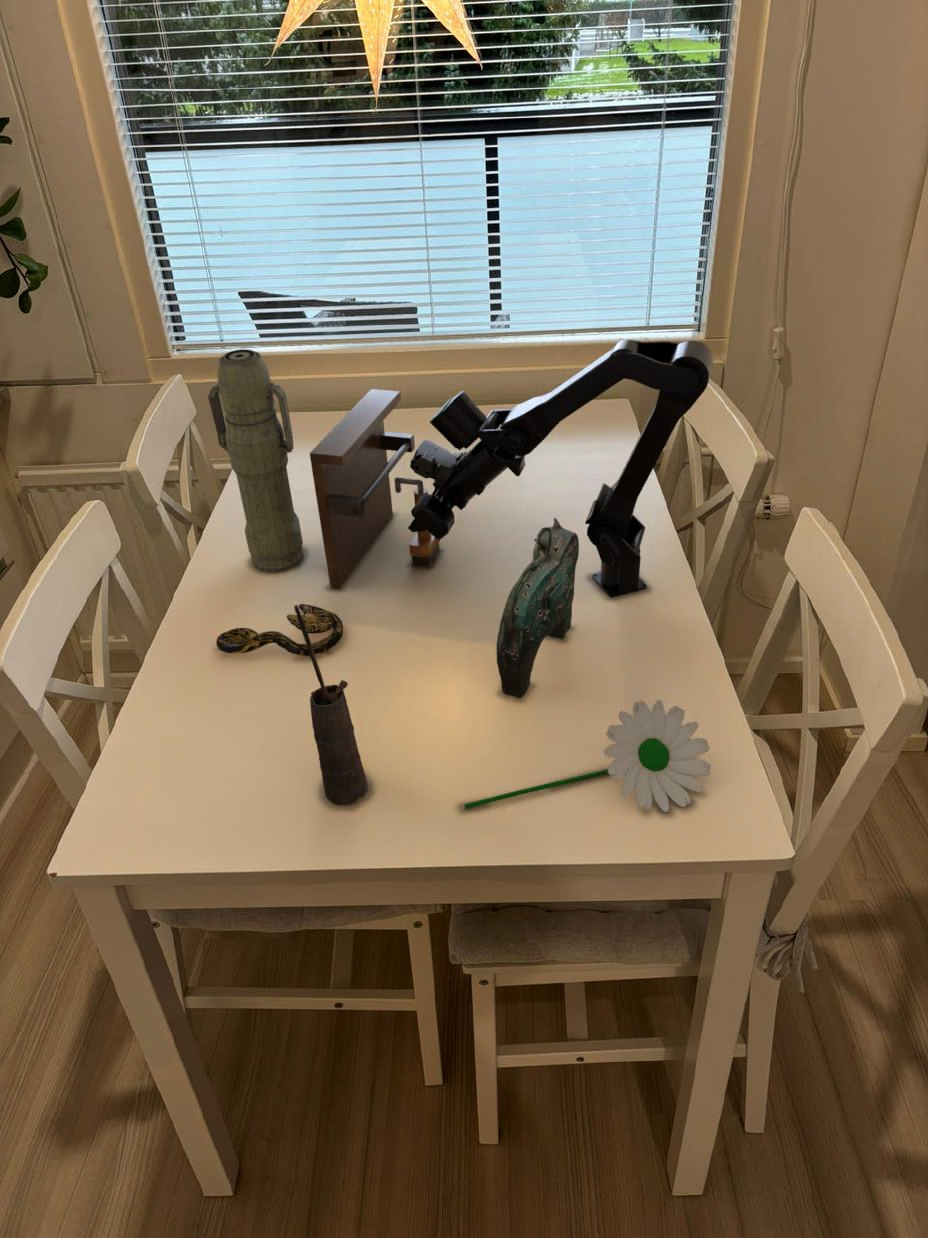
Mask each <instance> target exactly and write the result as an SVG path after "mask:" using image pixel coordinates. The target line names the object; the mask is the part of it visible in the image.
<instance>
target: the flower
mask: <svg viewBox="0 0 928 1238" xmlns="http://www.w3.org/2000/svg"><path fill="white" fill-rule="evenodd" d="M632 704H633V705H632V714H633V715H632V714H631V713H629V712H626V711H622V710H620V711H618V718H619V722H620V723H621V724H622V725H621V724H611V725H608V728H607V729H608V730H607V731H606V737H607V738H608V739H609V740H610V741H611V742H614V743H612V744H610V745H608V746H607V747H605V748H604V750H603V755H604V756H605V757H608V758H611V759H612V758H615V759H613V760H612V762H611V763H609V766H608V768H606V769H603V770H599V771H595V772H590V773H587V774H582V775H578V776H573V777H570V778H565V779H561V780H556V781H552V782H548V783H547V782H546V783H543V784H539V785H535V786H530V787H528V788H523V789H519V790H514V791H510V792H507V793H502V794H498V795H495V796H491V797H487V798H483V799H480V800H476V801H471V802H468V803H464V804H463V806H464V809H465V810H468V809H472V808H475V807H478V806H482V805H486V804H490V803H493V802H498V801H501V800H505V799H509V798H513V797H514V798H515V797H517V796H522V795H525V794H530V793H535V792H539V791H542V790H546V789H551V788H556V787H559V786H564V785H568V784H571V783H577V782H580V781H584V780H589V779H593V778H597V777H601V776H605V775H609V778H610V780H611V781H612V782H614V781H619V780H620V779H622V778H623V779H622V783H621V789H620V791H621V795H622V796H623V797H625V798H626V797H627V798H628V797H629V796H630V795H631V794H632V792H633V791H634V790H635V792H634V793H635V800H636V803H637V806H638V807H639V808H643V809H644V810H648V811H649V810H650V809H651V807H652V804H653V799H654V801H655V802H656V804H657V806H658V807H659V809H660V810H661V811H662V812H663V813H667V812H669V811H670V802H669V799H670V800H671V801H672V802H674V803H675V804H676V805H677V806H678V807H680V808H682V809H684V808H686V807H687V806H689V805H691V803H692V801H691V797H690V794H689V793H688V792H687V791H686V789H688V790H691V791H693V792H696V793H703V791H704V787H703V785H702V783H700V781H699V780H697V778H695V777H693V776H697V777H708V776H709V775H710V774H711V768H712V765H711V763H710V762H707V761H706V760H705V759H702V758H697V757H698V756H700V755H703V754H706V753H707V752H708V751H709V750H710V745H709V743H708V740H707V739H706V738H703V737H693V736H694V734H695V733H696V732H697V730H698V728H699V723H698V722H697V721H691V722H687V723H685V724H683V723H684V718H685V710H684V709H683V708H680V707H679V706H678V705H674V706H673V707H671V708H670V709H668V711H667V713H666V711H665V708H664V704H663V701H662V700H660V699H658V700H656V701H655V703H654V705H652V709H650V707H649V706H648V705H647V704H646V702H645V701H643V700H639V701H638V702H637V701H636V702H634V703H632ZM692 737H693V738H692ZM684 788H685V789H684ZM668 797H669V798H668Z"/></svg>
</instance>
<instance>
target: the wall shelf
mask: <svg viewBox="0 0 928 1238" xmlns="http://www.w3.org/2000/svg"><path fill="white" fill-rule="evenodd" d="M401 401H402V395H401V391H400V390H389V389H378V388H377V389H375V388H371V389H370V390H369V391H368V392H367V393H366V394H365V395H363V397H362V398H361V399H360V400H359V401H358V402H357V403H356V404H355V405H354V406H353V407H352V409H351V410H350V411H349V412H348V413H347V414H346V415H345V416H343V418H341V420H340V421H339V422H338V423H337V424H336V425H335V426H334V427H333V428H332V429H331V430H330V431H329V432H328V433H327V435H325V436H324V437H323V439H321V440H320V442H319V443H318V444H316V446H315V447H314V448H313V449H312V450H311V451H310V452H309V458H310V465H311V472H312V479H313V484H314V491H315V498H316V504H317V510H318V516H319V517H318V518H319V523H320V530H321V537H322V541H323V548H324V555H325V561H326V569H327V575H328V581H329V587H330V589H333V590H340V589H341V588H342V587H343V585H344V584H345V583H346V581H347V580H348V579H349V577H350V576H351V574H352V573H353V571H354V570H355V569H356V567H357V566H358V565H359V563H360V562H361V560H362V559H363V558H364V557H365V555H366V553H367V552H368V551H369V549H370V548H371V547H372V545H373V544H374V542H375V541H376V539H377V538H378V537H379V535H380V534H381V533H382V531H384V529H385V527H386V526H387V525H388V523H389V522H390V520H391V519H392V518H393V517H394V511H393V510H394V509H393V501H392V491H391V483H390V482H391V481H390V473H391V472H392V470H394V468H395V467H396V465H397V464H398V463H399V462H400V460H401V459H402V457H403V456H404V455H405V454H406V453H413V451H414V450H416V446H415V434H414V433H403V432H394V431H391V432H390V431H385V423H384V421H385V420H386V419H387V417H388V416H389V415H390V414H391V413H392V412H393V410H394V409H395V408H396V407H397V406H398V405H399V403H400V402H401ZM387 451H392V452H395V453H394V454H393V455H392V457H391V458H390V459H389V460H388V454H387Z"/></svg>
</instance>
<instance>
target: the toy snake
mask: <svg viewBox="0 0 928 1238" xmlns="http://www.w3.org/2000/svg"><path fill="white" fill-rule="evenodd" d="M298 608H299V610H300V612H301V615H302V618H303V620H304V622H305V625H306V628H307V631H308V634H311V635H314V634H323V633H326V632H328V631H330V630H331V629H332V633H330V634H329V635H328V636H326V637H323V638H322V639H320V640H318V641H315V642H311V644H312V648H313V651H314V654H315V656H316V655H319V654H323V653H327V652H328V651H330V650H331V649H332V648H333V647H335V646H337V644H338V643H339V642H340V641H341V639H343V636H344V624H343V621H342V619H341V618H340V617H339V616H338V615H337V614H336V613H335V612H332V611H329V610H327V609H324V608H322V607H319V606H316V605H311V604H307V603H300V604H299V605H298ZM286 619H287V621H288V622H289V623H290V625H292V626H294V627H295V629H297V630H299V631H301V632H302V630H301V628H300V625H299V622H298V619H297V614H291V613H289V614H286ZM215 644H216V646H217V648H218V650H219V651H221V652H223V653H226V654H232V655H236V654H237V655H238V654H246V653H250V652H254V651H256V650H258V649H259V648H262V647H264V646H266V645H270V644H276V646H278V647H280V648H282V649H284V651H286V652H287V653H290V654H292V655H296V656H301V657H302V656H303V657H310V654H309V651H308V648H307V645H306V643H299V642H296V641H295V640H293V639H292V638H290V637H289V636H287V635H286V634H283V633H282V632H280V631H276V630H268V631H264V632H263V631H262V632H261V633H258V632H257V631H256V630H254V629H251V628H249V627H236V628H231V629H230V630H229V629H228V630H226V631H224V632H222V633H220V634H219V635H218V636H217V638H216V643H215Z"/></svg>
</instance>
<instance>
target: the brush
mask: <svg viewBox="0 0 928 1238" xmlns="http://www.w3.org/2000/svg"><path fill="white" fill-rule="evenodd" d="M402 484H403V485H411V486H417V488H415V489H414V490H413V498H414V500H413V501H414V506H415V505H416V503H417V502H418V500H419V499H420V498H421V496H422V495H425V494H429V490H428V489H427V488H425V487H424V481H423V480H422V479H417V478H409V477H398V476H397V477H395V478H394V491H395V492H396V494H400V493H401V492H402ZM440 542H441V540H438V539H436V538H435V537H434V536H433V535H432V534H431V533H430V532H429V531H428V530H425V531H419V532H416V534H415V535H414V537H413V538H412V539H411V541H410V543H409V544H408V549H409V556H411V564H412V566H415V567H416V566H417V567H423V568H430V567H431V566H432V565H433V563H434V561H435V560H436V559H437V556H438V554H439V552H440Z"/></svg>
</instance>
